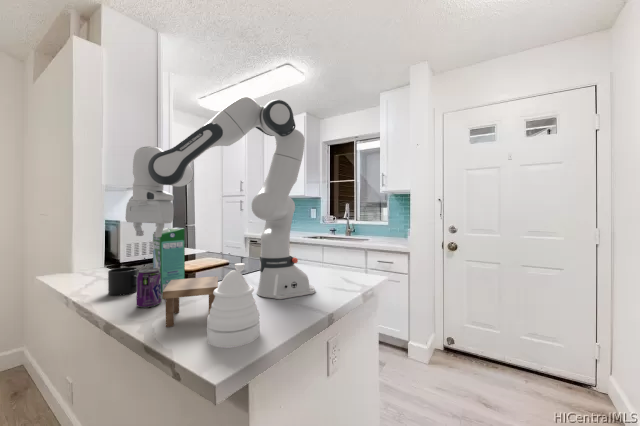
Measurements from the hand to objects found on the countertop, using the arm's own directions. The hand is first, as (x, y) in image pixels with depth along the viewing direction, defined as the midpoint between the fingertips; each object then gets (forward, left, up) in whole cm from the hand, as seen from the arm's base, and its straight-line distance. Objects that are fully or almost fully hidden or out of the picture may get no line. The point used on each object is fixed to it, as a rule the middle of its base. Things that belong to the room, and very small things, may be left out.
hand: (148, 236), depth 95 cm
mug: (+12, -20, -24) cm, 33 cm away
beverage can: (0, 0, -24) cm, 24 cm away
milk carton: (-3, -20, -24) cm, 31 cm away
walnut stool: (-15, +16, -23) cm, 32 cm away
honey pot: (-26, +34, -24) cm, 49 cm away
